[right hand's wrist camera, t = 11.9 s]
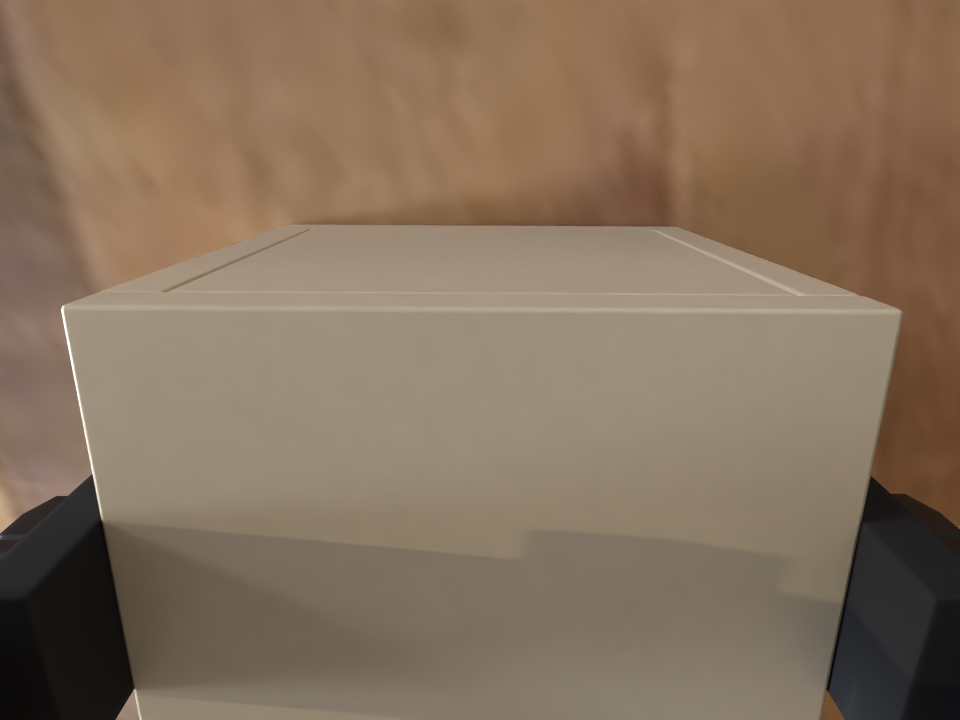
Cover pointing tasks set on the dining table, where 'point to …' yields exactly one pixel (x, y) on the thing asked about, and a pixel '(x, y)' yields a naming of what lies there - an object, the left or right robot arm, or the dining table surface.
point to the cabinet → (480, 474)
